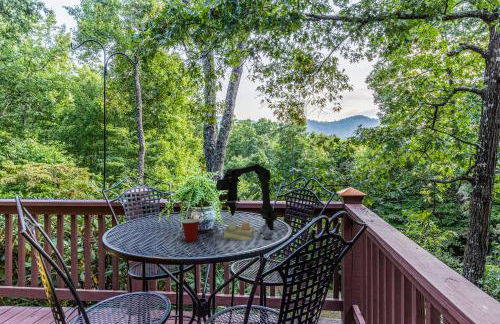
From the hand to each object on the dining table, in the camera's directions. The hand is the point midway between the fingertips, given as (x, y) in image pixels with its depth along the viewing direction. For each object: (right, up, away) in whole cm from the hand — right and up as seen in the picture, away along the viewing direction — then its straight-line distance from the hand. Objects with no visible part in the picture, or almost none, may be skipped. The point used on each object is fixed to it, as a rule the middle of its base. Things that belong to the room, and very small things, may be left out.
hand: (232, 215), depth 187 cm
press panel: (+4, -13, 0) cm, 14 cm away
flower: (+20, -14, -3) cm, 24 cm away
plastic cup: (-24, -13, -7) cm, 28 cm away
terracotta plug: (+8, -9, -1) cm, 12 cm away
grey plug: (0, -9, 0) cm, 9 cm away
